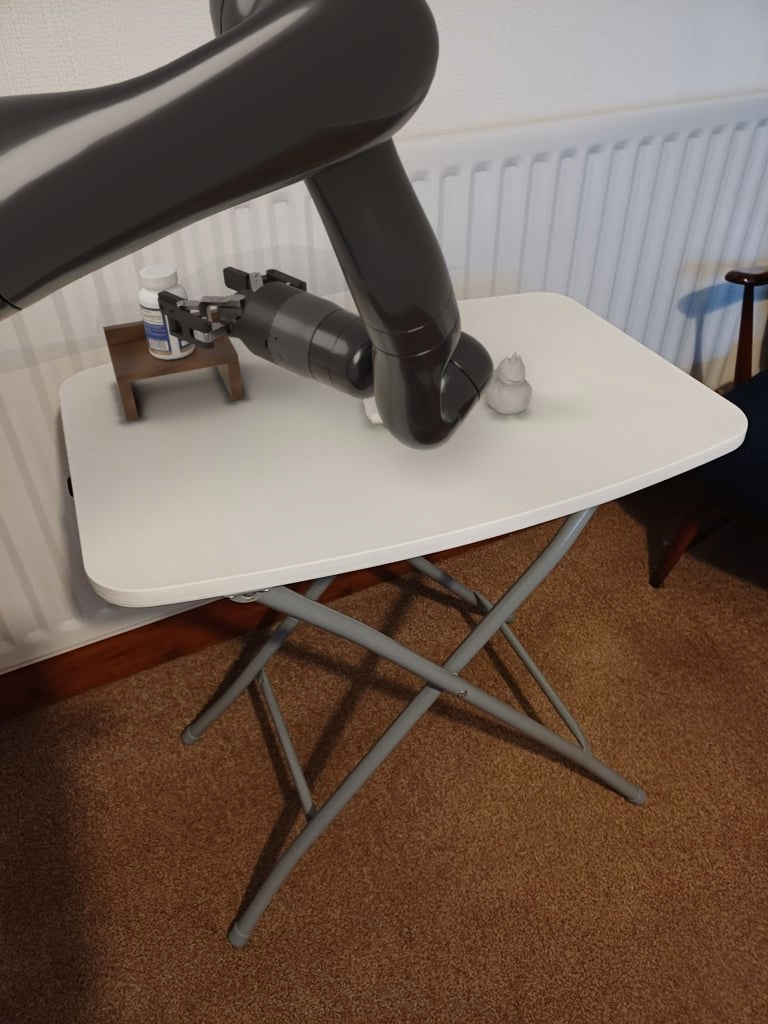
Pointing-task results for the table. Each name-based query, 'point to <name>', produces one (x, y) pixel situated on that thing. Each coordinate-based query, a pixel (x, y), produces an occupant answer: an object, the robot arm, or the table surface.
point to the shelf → (165, 361)
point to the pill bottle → (153, 319)
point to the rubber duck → (509, 387)
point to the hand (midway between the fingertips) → (194, 287)
